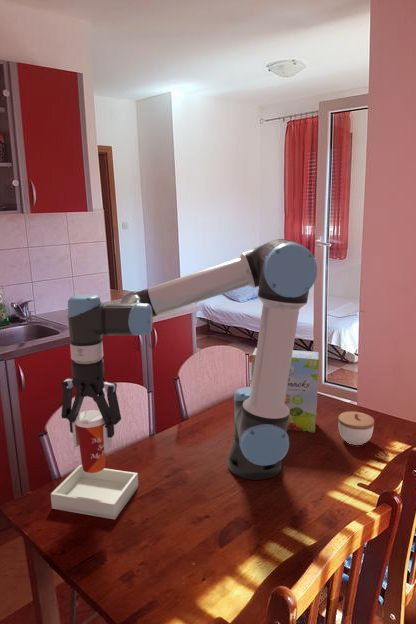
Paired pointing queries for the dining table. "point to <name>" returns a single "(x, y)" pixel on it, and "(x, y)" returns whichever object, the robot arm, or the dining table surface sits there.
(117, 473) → the tray
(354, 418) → the lidded jar
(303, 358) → the snack box
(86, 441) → the paper cup
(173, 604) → the dining table surface
